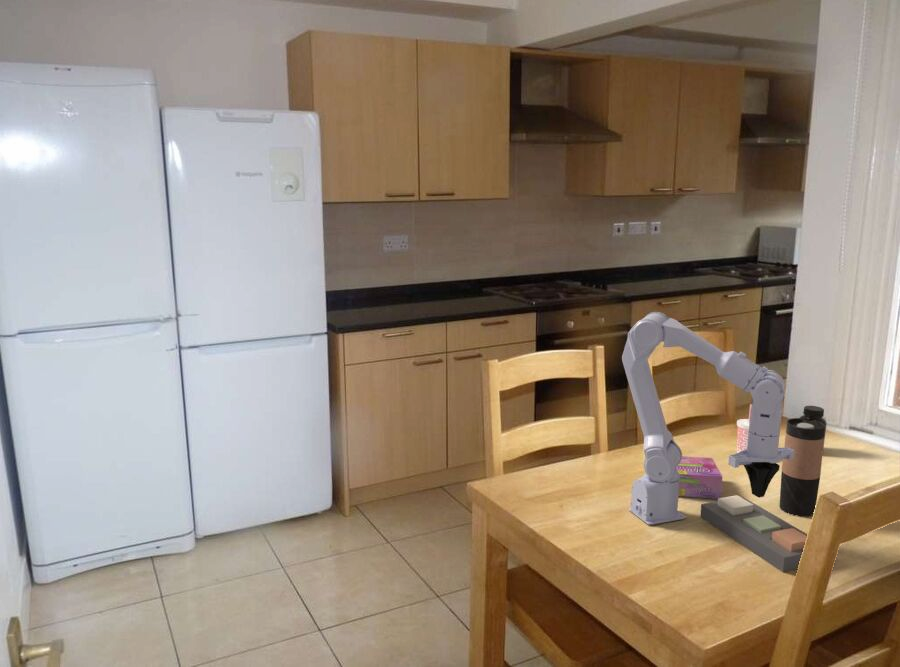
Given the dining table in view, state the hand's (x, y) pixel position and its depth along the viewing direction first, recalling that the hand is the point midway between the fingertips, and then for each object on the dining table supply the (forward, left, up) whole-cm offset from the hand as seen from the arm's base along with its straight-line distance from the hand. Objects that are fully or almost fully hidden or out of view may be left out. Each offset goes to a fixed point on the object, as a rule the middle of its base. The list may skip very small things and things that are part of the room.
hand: (757, 495), depth 150 cm
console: (0, -2, -9) cm, 9 cm away
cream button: (0, +6, -6) cm, 8 cm away
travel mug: (+17, +6, -9) cm, 20 cm away
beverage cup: (+29, +36, -9) cm, 47 cm away
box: (+5, +29, -6) cm, 30 cm away
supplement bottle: (+47, +33, -9) cm, 58 cm away
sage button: (0, -2, -7) cm, 7 cm away
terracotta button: (0, -10, -6) cm, 12 cm away
